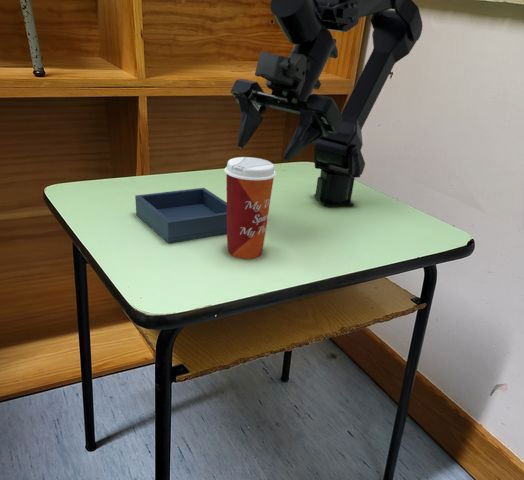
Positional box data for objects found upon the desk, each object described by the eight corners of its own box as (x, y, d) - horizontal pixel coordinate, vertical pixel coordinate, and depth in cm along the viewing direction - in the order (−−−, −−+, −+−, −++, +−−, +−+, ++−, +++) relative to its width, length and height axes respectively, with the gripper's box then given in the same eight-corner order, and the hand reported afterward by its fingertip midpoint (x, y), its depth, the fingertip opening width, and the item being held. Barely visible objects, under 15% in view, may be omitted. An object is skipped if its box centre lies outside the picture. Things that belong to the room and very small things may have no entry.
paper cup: (251, 266, 82) (258, 174, 74) (211, 252, 85) (214, 162, 77) (277, 250, 87) (287, 163, 80) (239, 238, 90) (244, 152, 83)
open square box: (203, 205, 102) (204, 187, 100) (240, 231, 93) (241, 211, 91) (136, 214, 95) (135, 195, 93) (168, 243, 86) (167, 222, 84)
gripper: (236, 21, 82) (191, 113, 82) (340, 35, 73) (289, 138, 74) (267, 68, 92) (227, 150, 92) (361, 86, 83) (317, 177, 83)
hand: (261, 153), depth 85 cm, fingers open, 9 cm apart
